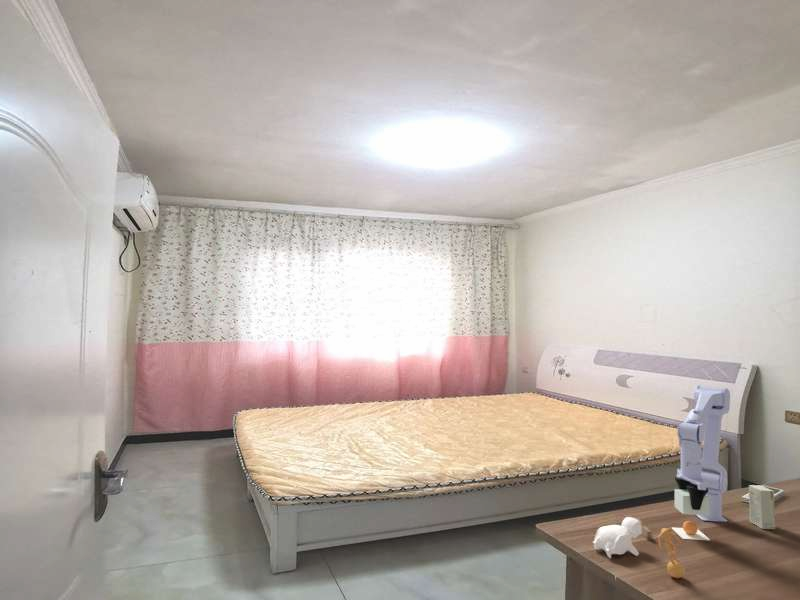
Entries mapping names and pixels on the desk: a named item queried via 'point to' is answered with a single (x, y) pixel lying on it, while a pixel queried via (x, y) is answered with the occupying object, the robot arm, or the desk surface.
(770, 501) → the skincare box
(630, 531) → the white crawling baby figure
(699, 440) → the robot arm
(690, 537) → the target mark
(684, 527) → the ball
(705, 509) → the pale green block
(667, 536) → the figurine
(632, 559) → the desk surface
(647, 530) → the stopper
